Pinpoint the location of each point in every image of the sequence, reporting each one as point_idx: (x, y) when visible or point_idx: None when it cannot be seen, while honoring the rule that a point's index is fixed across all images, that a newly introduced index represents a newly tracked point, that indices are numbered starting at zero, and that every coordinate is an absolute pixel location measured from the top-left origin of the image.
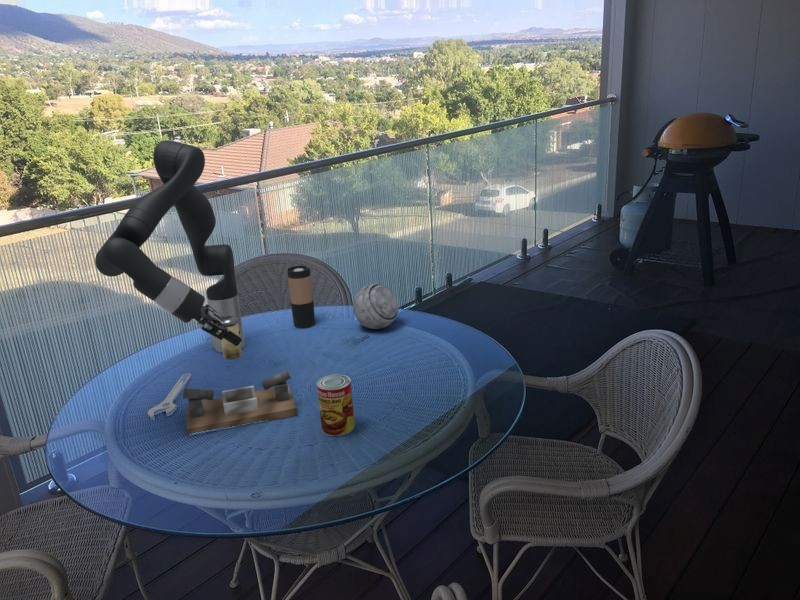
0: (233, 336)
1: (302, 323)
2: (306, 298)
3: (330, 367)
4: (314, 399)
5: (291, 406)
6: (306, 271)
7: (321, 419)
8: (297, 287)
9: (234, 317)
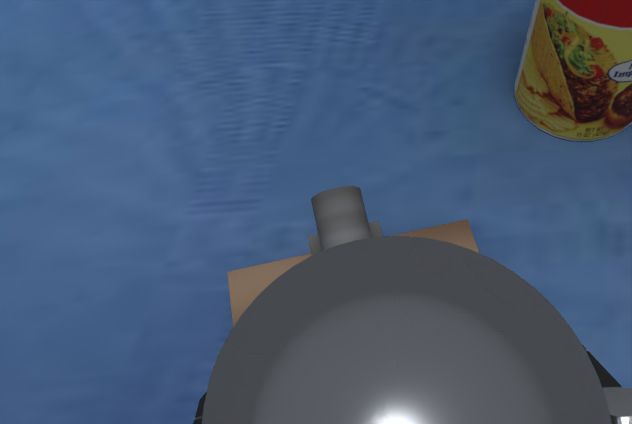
0: (593, 361)
1: None
2: None
3: (69, 145)
4: (334, 182)
5: (450, 239)
6: None
7: (629, 102)
8: None
9: (314, 294)
